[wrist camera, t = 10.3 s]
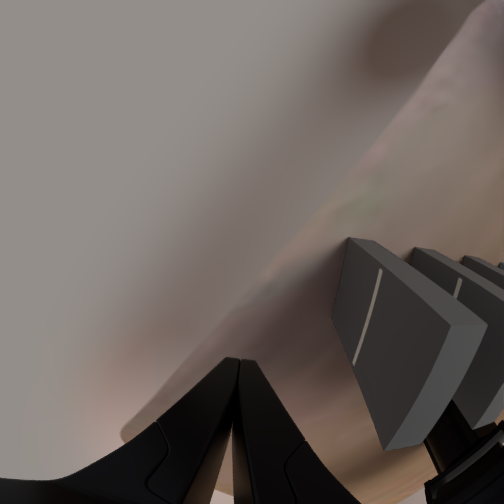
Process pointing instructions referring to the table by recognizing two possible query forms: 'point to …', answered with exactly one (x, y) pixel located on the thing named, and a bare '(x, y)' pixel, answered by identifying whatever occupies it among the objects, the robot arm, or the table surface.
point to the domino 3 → (485, 270)
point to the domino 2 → (493, 342)
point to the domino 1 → (402, 341)
